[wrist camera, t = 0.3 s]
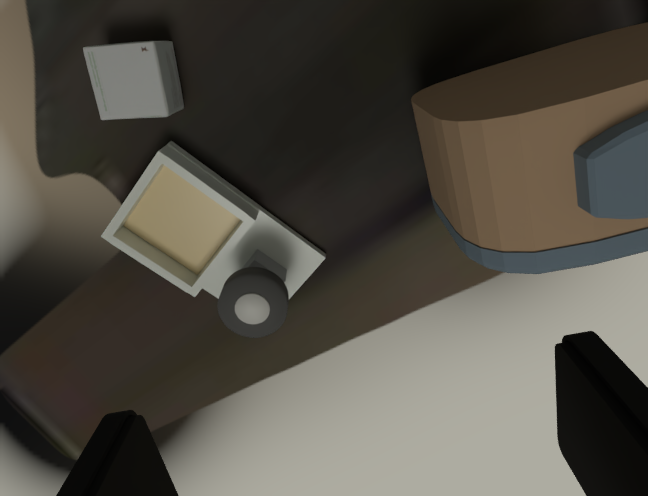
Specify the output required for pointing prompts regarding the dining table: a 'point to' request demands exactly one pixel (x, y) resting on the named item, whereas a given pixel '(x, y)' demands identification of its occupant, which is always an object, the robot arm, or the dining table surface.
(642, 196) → the alarm clock
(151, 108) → the small box
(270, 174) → the dining table surface
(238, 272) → the wheel
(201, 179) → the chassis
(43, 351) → the dining table surface
